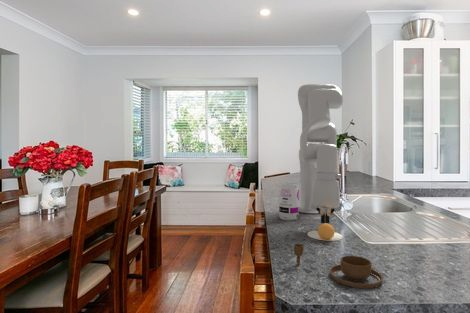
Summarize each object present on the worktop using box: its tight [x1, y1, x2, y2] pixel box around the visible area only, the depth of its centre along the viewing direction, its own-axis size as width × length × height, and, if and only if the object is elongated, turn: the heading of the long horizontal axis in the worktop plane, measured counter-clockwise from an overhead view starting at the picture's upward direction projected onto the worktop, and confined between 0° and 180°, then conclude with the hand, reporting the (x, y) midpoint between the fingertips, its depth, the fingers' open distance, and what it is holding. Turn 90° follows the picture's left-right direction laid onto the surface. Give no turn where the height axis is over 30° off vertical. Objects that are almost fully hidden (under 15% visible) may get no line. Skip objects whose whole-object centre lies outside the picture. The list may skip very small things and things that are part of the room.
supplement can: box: [278, 182, 300, 222], centre depth 137 cm, size 8×8×15 cm
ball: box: [317, 223, 335, 241], centre depth 108 cm, size 6×6×6 cm
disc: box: [307, 230, 344, 242], centre depth 112 cm, size 12×12×1 cm
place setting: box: [293, 243, 384, 289], centre depth 80 cm, size 18×20×6 cm
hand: (324, 225), depth 121 cm, fingers closed
